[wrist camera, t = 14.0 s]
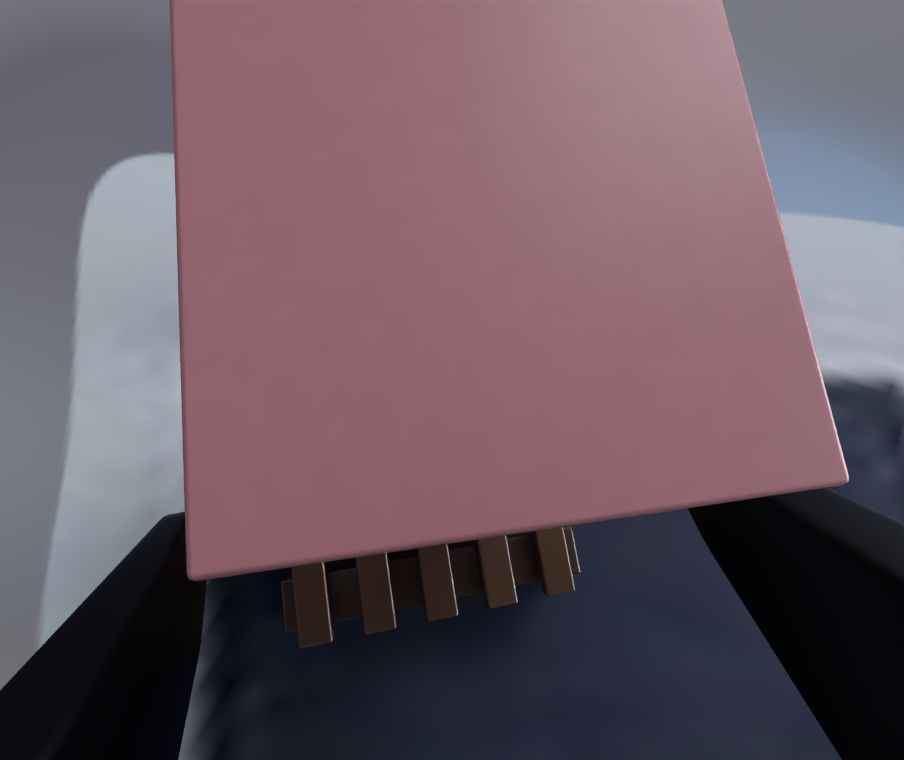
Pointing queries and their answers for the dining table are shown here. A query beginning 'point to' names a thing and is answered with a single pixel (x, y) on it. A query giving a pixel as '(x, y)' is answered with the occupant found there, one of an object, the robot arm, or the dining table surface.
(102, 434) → the dining table surface
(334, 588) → the rack
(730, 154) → the box
